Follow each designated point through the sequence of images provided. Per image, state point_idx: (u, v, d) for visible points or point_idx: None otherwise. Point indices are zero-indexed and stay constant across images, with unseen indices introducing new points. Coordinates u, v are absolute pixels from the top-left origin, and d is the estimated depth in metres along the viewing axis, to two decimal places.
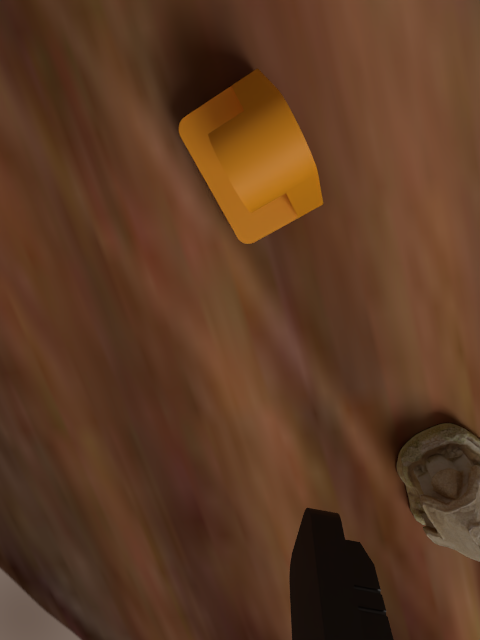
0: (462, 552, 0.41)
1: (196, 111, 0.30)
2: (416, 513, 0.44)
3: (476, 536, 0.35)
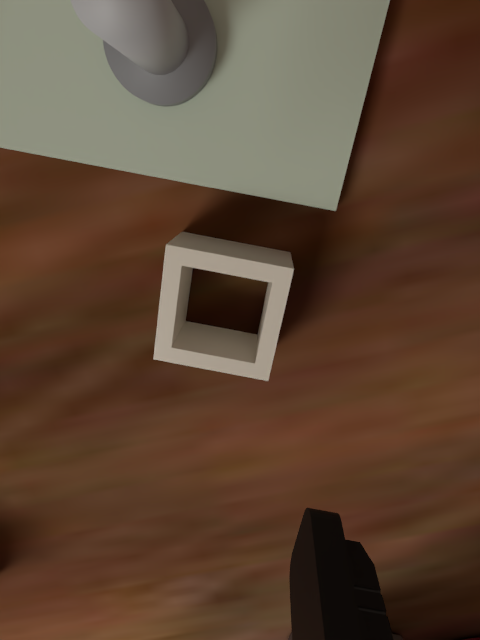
0: None
1: None
2: None
3: None
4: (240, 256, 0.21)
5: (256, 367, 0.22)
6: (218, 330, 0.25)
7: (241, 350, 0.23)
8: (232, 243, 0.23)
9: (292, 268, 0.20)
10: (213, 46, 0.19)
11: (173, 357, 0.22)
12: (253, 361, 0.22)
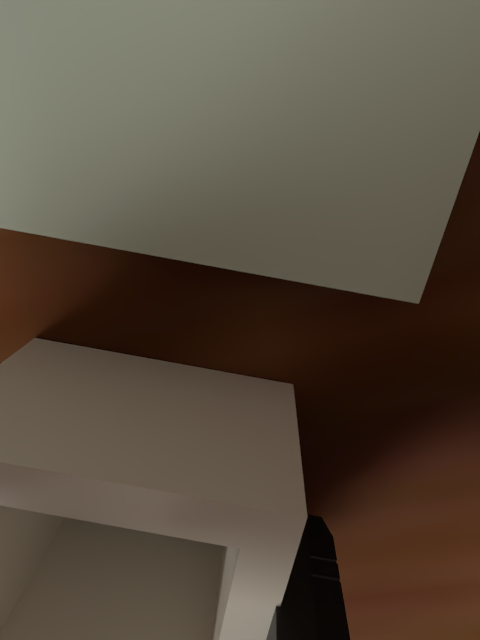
0: None
1: None
2: None
3: None
4: (142, 462, 0.07)
5: None
6: (135, 541, 0.11)
7: (177, 631, 0.10)
8: (149, 373, 0.09)
9: (302, 511, 0.06)
10: None
11: None
12: None
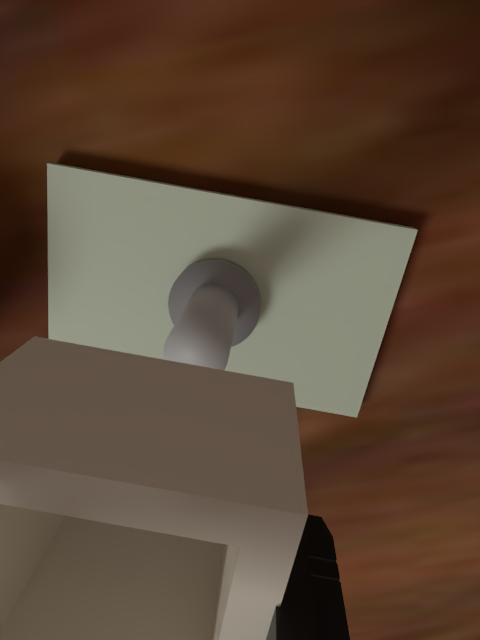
0: None
1: None
2: None
3: None
4: (142, 460, 0.07)
5: None
6: (135, 540, 0.11)
7: (177, 630, 0.10)
8: (149, 372, 0.09)
9: (302, 509, 0.06)
10: (258, 313, 0.23)
11: None
12: None
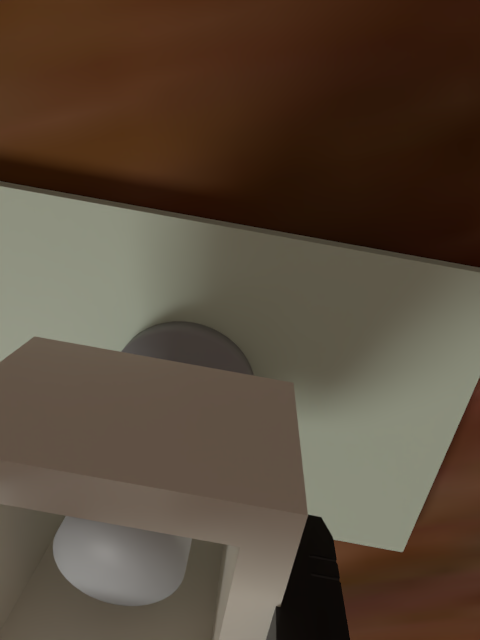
0: None
1: None
2: None
3: None
4: (142, 460, 0.07)
5: None
6: None
7: (177, 630, 0.09)
8: (149, 371, 0.09)
9: (302, 509, 0.06)
10: None
11: None
12: None
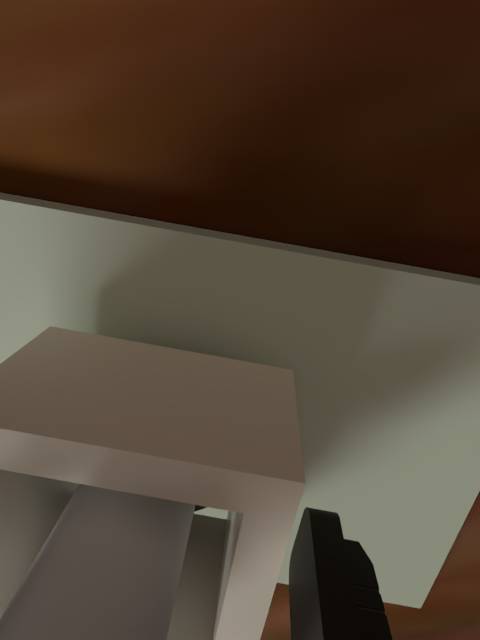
0: None
1: None
2: None
3: None
4: (155, 435, 0.07)
5: None
6: None
7: (183, 600, 0.10)
8: (158, 359, 0.10)
9: (300, 478, 0.07)
10: None
11: None
12: None
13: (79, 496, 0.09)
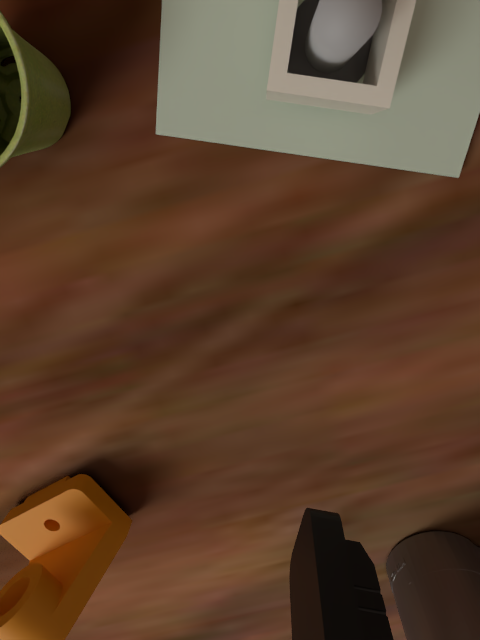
0: None
1: (89, 500, 0.37)
2: None
3: None
4: None
5: (378, 91, 0.21)
6: None
7: None
8: None
9: None
10: None
11: (288, 86, 0.21)
12: (374, 86, 0.21)
13: None
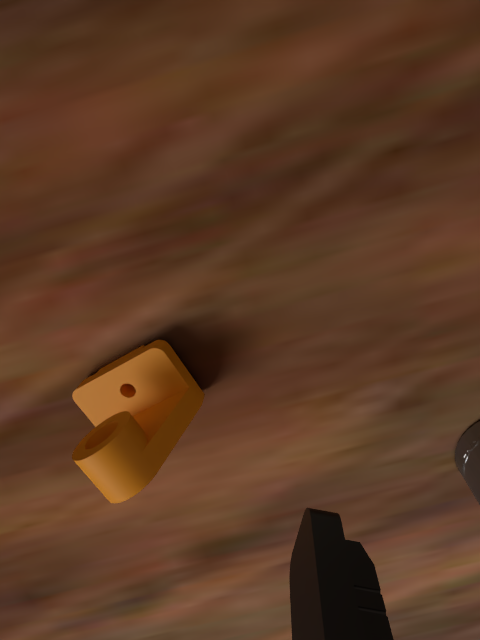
0: None
1: (169, 362, 0.37)
2: None
3: None
4: None
5: None
6: None
7: None
8: None
9: None
10: None
11: None
12: None
13: None
